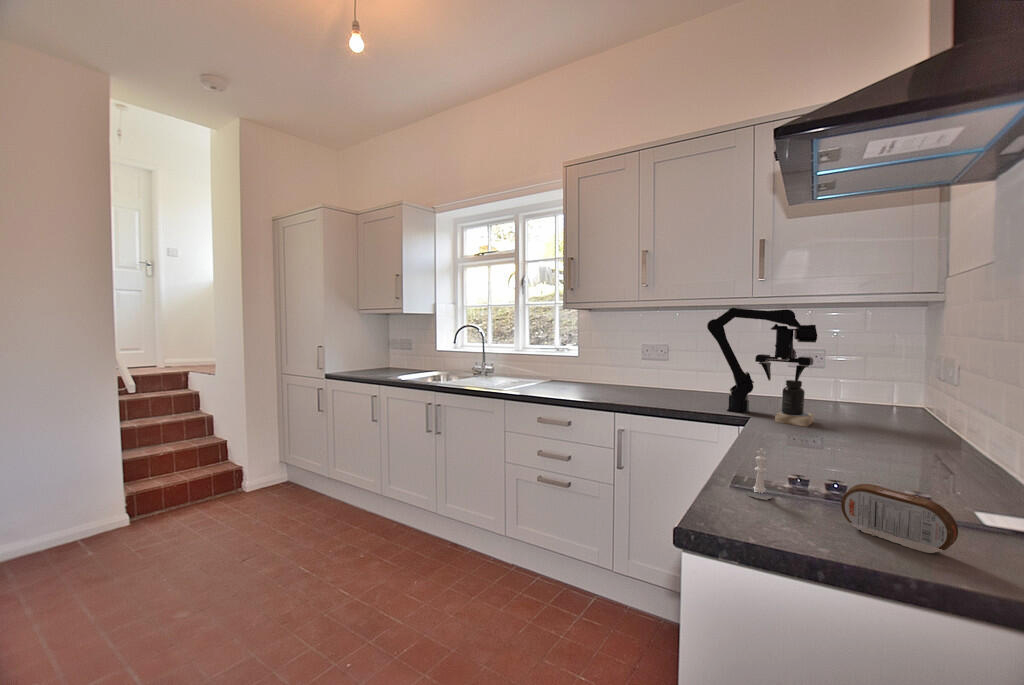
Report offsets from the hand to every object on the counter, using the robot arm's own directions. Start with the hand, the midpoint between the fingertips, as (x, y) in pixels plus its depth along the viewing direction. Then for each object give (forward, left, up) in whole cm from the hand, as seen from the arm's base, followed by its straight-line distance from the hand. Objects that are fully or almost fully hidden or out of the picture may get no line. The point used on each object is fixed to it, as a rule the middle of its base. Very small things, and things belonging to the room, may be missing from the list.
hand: (782, 381), depth 178 cm
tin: (+42, -102, -13) cm, 111 cm away
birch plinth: (+7, -11, -13) cm, 18 cm away
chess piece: (+20, -97, -13) cm, 100 cm away
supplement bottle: (+6, -12, -10) cm, 17 cm away
